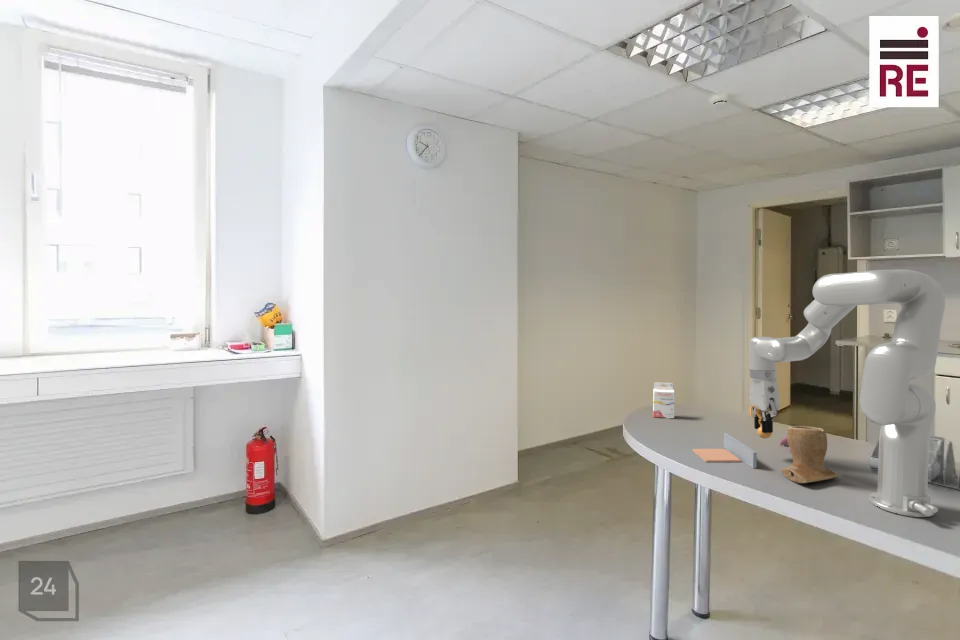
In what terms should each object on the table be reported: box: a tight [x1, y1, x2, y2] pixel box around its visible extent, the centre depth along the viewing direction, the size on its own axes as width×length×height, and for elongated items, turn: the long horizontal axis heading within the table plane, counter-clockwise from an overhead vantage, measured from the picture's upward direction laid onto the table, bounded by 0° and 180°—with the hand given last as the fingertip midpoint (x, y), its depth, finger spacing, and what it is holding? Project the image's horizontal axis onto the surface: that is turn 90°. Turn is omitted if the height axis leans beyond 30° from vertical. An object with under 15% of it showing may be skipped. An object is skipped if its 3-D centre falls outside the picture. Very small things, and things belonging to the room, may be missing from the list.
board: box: [692, 448, 742, 463], centre depth 161 cm, size 11×11×1 cm
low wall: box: [723, 432, 758, 469], centre depth 160 cm, size 20×1×5 cm, turn 178°
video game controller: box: [779, 435, 791, 453], centre depth 166 cm, size 10×5×7 cm, turn 169°
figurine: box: [749, 405, 773, 439], centre depth 159 cm, size 8×6×12 cm
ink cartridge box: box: [652, 381, 676, 419], centre depth 209 cm, size 9×5×15 cm, turn 72°
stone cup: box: [780, 425, 839, 484], centre depth 142 cm, size 15×12×15 cm
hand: (763, 430), depth 158 cm, fingers closed on figurine, 3 cm apart
